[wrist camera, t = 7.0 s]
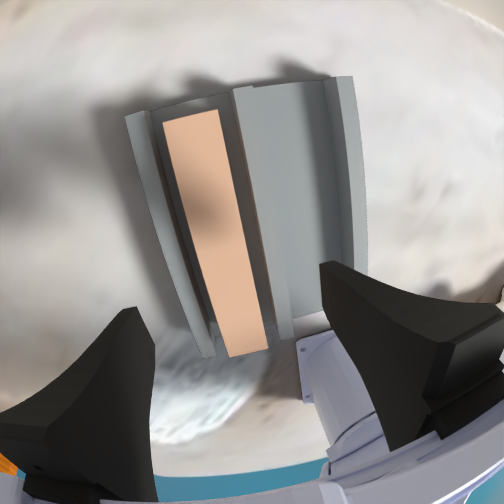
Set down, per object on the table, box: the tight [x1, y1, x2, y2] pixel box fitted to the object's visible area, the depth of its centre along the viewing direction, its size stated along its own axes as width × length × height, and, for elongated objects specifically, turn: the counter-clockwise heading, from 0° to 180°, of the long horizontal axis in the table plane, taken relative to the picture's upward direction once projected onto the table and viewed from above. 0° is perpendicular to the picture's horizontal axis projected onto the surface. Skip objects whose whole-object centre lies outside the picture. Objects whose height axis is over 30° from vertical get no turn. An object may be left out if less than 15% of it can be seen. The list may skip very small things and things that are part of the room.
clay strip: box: [163, 109, 268, 357], centre depth 17 cm, size 14×2×4 cm, turn 10°
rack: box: [125, 76, 368, 359], centre depth 18 cm, size 16×13×3 cm
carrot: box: [0, 453, 18, 476], centre depth 19 cm, size 5×5×15 cm
